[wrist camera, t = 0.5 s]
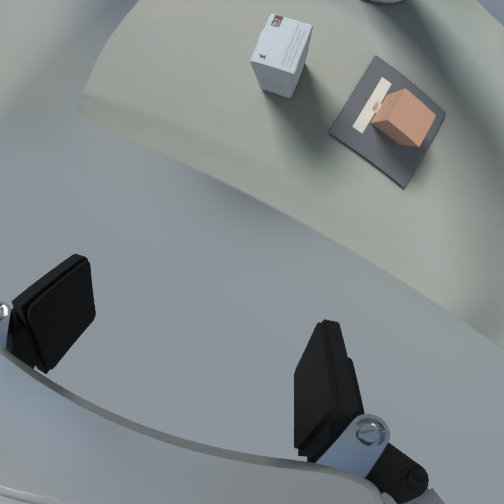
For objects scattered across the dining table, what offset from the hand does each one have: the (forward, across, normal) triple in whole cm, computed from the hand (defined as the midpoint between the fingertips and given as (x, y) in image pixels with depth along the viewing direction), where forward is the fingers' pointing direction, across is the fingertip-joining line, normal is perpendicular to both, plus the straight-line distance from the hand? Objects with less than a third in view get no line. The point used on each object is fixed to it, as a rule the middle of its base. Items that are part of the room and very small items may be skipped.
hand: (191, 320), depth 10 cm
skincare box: (+28, 0, -16) cm, 33 cm away
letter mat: (+28, -16, -15) cm, 35 cm away
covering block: (+28, -16, -15) cm, 35 cm away
